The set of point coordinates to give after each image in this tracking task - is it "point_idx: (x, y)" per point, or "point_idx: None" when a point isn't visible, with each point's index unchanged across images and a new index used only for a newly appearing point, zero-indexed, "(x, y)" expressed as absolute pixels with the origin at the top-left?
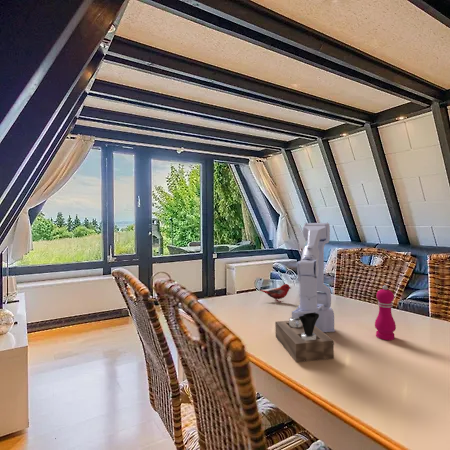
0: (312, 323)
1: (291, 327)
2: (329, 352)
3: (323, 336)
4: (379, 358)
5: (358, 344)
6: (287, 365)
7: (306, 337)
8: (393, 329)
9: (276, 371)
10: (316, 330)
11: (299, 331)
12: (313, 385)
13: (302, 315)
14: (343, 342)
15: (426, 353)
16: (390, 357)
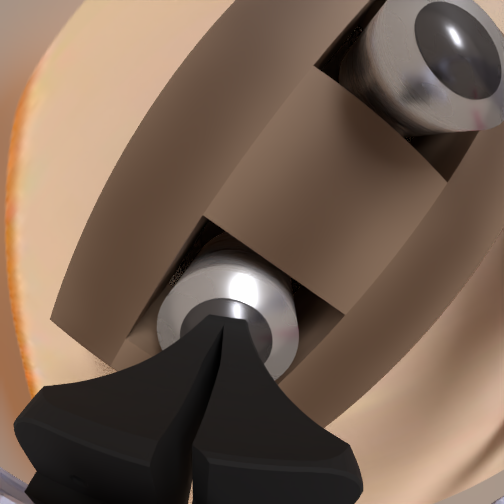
0: (191, 474)
1: (359, 48)
2: None
3: (313, 402)
4: (384, 461)
5: (481, 373)
6: (59, 260)
7: (162, 349)
8: None
9: (8, 256)
10: (413, 303)
11: (287, 191)
12: None
13: (22, 491)
14: (483, 324)
15: (461, 479)
16: (406, 468)
